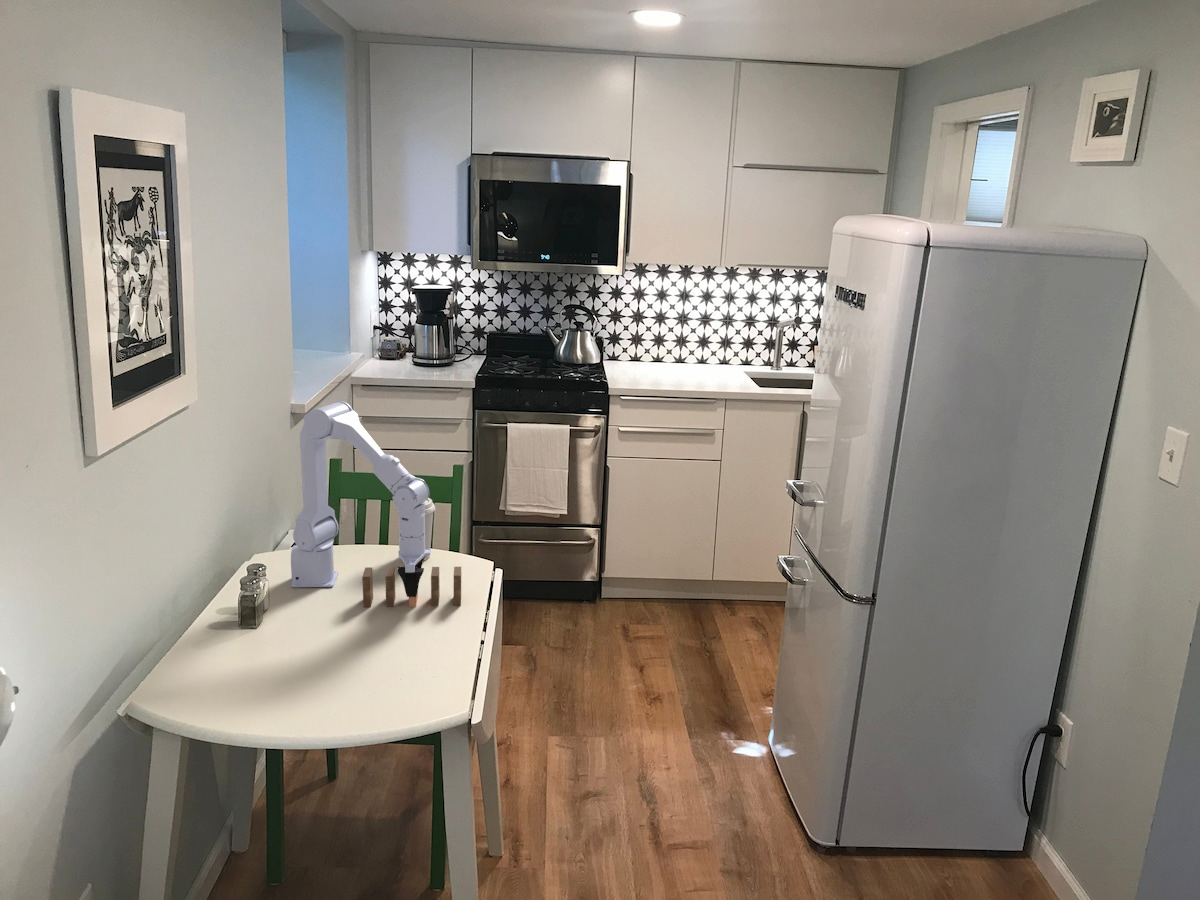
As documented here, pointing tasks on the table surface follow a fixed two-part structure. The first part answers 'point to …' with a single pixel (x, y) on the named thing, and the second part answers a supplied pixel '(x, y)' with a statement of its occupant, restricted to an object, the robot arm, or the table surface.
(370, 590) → the domino
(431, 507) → the coffee cup
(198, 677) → the table surface
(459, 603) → the domino
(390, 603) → the domino
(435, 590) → the domino
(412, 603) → the domino
